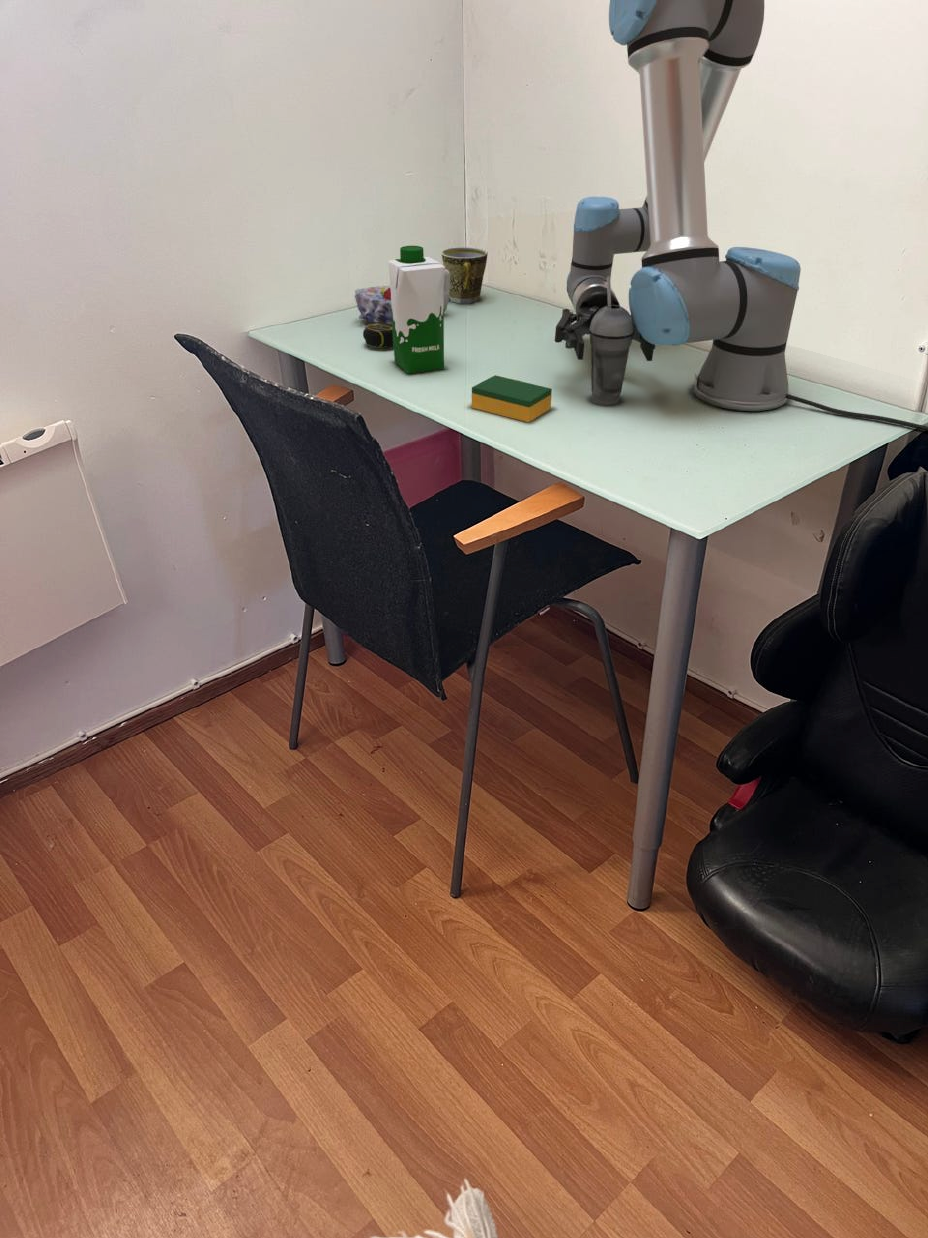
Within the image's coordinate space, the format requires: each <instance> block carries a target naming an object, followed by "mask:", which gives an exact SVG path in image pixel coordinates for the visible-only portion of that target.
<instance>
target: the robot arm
mask: <svg viewBox="0 0 928 1238" xmlns="http://www.w3.org/2000/svg"><path fill="white" fill-rule="evenodd" d="M765 6H766V5H765V0H609V5H608V28H609V32H610V35H611V36H612V39H613V40H614V42H615V43H617V44H619V45H621V46H626V51H627V63H628V65H629V66H630V67H631V68H632V69H633V70H634V71H636V72H637V74H638V75H639V87H640V88H639V89H640V105H641V119H642V120H641V121H642V138H643V149H644V151H643V153H644V166H645V178H646V179H645V182H646V183H645V184H646V196H645V199H644V200H643V201H644V202H643V205H642V206H641V207H630V208H620V204H619V202H618V200H616V199H614V198H612V197H607V196H587V197H584V198H581V199H580V201H578V203H577V205H576V210H575V216H574V222H573V240H572V256H571V262H570V269H569V272H568V274H567V278H566V293H567V296H568V298H569V300H570V302H571V304H572V307H573V310H574V312H573V311H571V310H570V309H568V308H563V309H562V313H561V317H560V319H559V321H558V322H557V324H556V326H555V333H554V342H555V343H562V342H563V341H565V347H564V348H566V349H574V352H575V355H576V358H577V360H578V361H583V360H584V352H585V344H586V343H585V341H584V338H583V337H584V336H585V335H588V336H590V333H589V329H590V325H591V321H592V319H593V317H594V316H595V314H596V313H597V312H598V311H599V310H600V309H601V308H603V307H605V306H608V294H607V277H608V276H610V280H611V278H612V271H613V264H614V263H613V262H614V256H615V255H619V254H620V255H622V254H632V253H639V252H640V253H641V252H642V253H643V252H644V254H643V255H642V256H641V259H640V261H641V268H640V269H639V270H637V271H636V272H635V273H634V274H633V276H632V278H631V279H630V282H629V284H630V288H628V306H629V313H630V315H631V318H632V320H633V325H634V335H633V339H632V341H633V340H634V341H635V342H638V343H639V348H640V349H641V351H642V353H643V355H644V358H645V359H646V362H652V361H653V356H654V350H656V346H675V347H676V346H681V345H684V344H691V343H692V344H693V343H699V342H707V341H708V342H709V341H712V346H711V348H710V350H709V352H708V354H707V356H706V358H705V360H704V362H703V364H702V366H701V368H700V369H699V371H698V374H697V373H695V375H694V390H693V391H694V394H695V396H696V397H697V398H698V399H699V400H701V401H703V402H705V403H707V404H709V405H712V406H714V407H717V408H723V409H725V410H733V411H741V412H742V411H743V412H762V411H763V412H764V411H770V410H774V409H777V408H780V407H782V406H783V405H784V404H786V403H787V400H791V401H793V402H798V403H801V404H804V405H807V406H810V407H814V408H817V409H820V410H822V411H826V412H829V413H832V414H836V415H841V416H846V417H853V418H860V419H867V420H872V421H873V420H874V421H880V422H884V423H890V424H895V425H898V426H899V425H900V426H904V427H908V428H912V429H917V430H920V431H926V432H928V426H927V425H923V424H918V423H914V422H910V421H906V420H901V419H896V418H892V417H887V416H883V415H875V414H870V413H869V414H868V413H862V412H861V413H860V412H854V411H847V410H844V409H843V410H842V409H838V408H834V407H831V406H827V405H824V404H821V403H818V402H815V401H812V400H810V399H805V398H803V397H798V396H796V395H792V394H789V380H788V372H787V364H786V355H785V354H786V348H787V344H788V343H787V342H788V339H789V333H790V328H791V324H792V320H793V314H794V309H795V305H796V300H797V296H798V291H799V290H800V286H799V284H800V277H801V271H802V268H801V264H800V263H799V261H798V260H797V259H796V258H794V257H792V256H790V255H787V254H783V253H780V252H777V251H772V250H767V249H762V248H756V247H747V246H733V247H730V248H729V249H728V250H727V251H726V254H725V255H724V258H725V260H722V261H720V247H719V244H717V243H715V241H713V240H712V239H711V238H710V237H709V231H708V230H709V229H708V213H707V212H708V211H707V192H706V191H707V190H706V173H705V162H706V159H707V157H708V154H709V151H710V149H711V147H712V144H713V141H714V139H715V137H716V134H717V131H718V129H719V126H720V124H721V121H722V119H723V116H724V114H725V111H726V109H727V106H728V104H729V101H730V98H731V96H732V93H733V91H734V88H735V85H736V83H737V80H738V78H739V76H740V73H741V70H742V69H744V68H746V67H748V66H749V65H750V64H751V62H752V60H753V58H754V56H755V53H756V50H757V48H758V46H759V41H760V38H761V36H762V31H763V27H764V26H763V25H764V20H765ZM611 305H618V306H621V305H620V302H619V300H618V298H617V296H616V293H615V292H614V289H613V288H612V287H611Z"/></svg>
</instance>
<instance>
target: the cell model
mask: <svg viewBox="0 0 928 1238" xmlns="http://www.w3.org/2000/svg"><path fill="white" fill-rule="evenodd" d="M449 294H450V272H449V271H448V270H446V269H445V274H444V286H443V296H444V312H445V311H447V309H448V305H449V300H450V297H449ZM354 299H355V303H356V308H357V310H358V311H359V313H360V315H358V318H359V320H365V321H367V322H368V323H369V324H372V323H374V322H377V323H385V324H391V325H392V308H391V284H389V285H381V286H379V285H377V286H369V287H367V288H366V287H365V288H357V289H356V290H354Z"/></svg>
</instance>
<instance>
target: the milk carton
mask: <svg viewBox="0 0 928 1238" xmlns="http://www.w3.org/2000/svg"><path fill="white" fill-rule="evenodd" d="M399 252H400V253H399V257H400V258H396V259H390V260H388V268H389V269H388V270H389V282H390V284H389V285H391V308H392V332H393V346H392V347H393V357H394V363H395V364H396V365H397V366H399V367H400V368H401V369H402V370H403V371H404V372H405V373H406V374H408V375H411V374H418V373H426V372H432V371H439V370H444V369H445V317H444V316H445V314H444V313H445V311H444V296H443V286H444V274H445V267H444V266H443V264H441V262H440V261H437V260H435V259H434V258H432V257H430V256H424V247H423V246H420V245H404V246H401V247H400V248H399Z"/></svg>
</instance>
